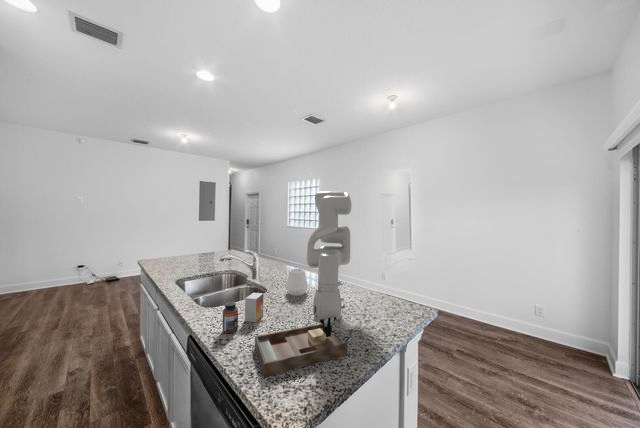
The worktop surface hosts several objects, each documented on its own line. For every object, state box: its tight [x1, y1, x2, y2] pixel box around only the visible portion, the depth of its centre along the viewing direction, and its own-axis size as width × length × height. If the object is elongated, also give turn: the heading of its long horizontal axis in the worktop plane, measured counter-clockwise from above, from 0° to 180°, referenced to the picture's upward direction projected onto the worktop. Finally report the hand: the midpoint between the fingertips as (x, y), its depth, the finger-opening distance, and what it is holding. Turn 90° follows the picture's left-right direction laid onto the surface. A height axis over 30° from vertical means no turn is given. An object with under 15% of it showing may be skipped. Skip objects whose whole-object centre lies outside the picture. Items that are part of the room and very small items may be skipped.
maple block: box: [308, 328, 326, 345], centre depth 90 cm, size 5×5×3 cm
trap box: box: [254, 322, 348, 378], centre depth 88 cm, size 29×17×4 cm, turn 114°
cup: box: [285, 268, 309, 297], centre depth 148 cm, size 13×13×14 cm
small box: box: [244, 292, 264, 323], centre depth 113 cm, size 8×6×10 cm
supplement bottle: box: [222, 301, 239, 334], centre depth 102 cm, size 6×6×11 cm
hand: (327, 335), depth 92 cm, fingers closed
